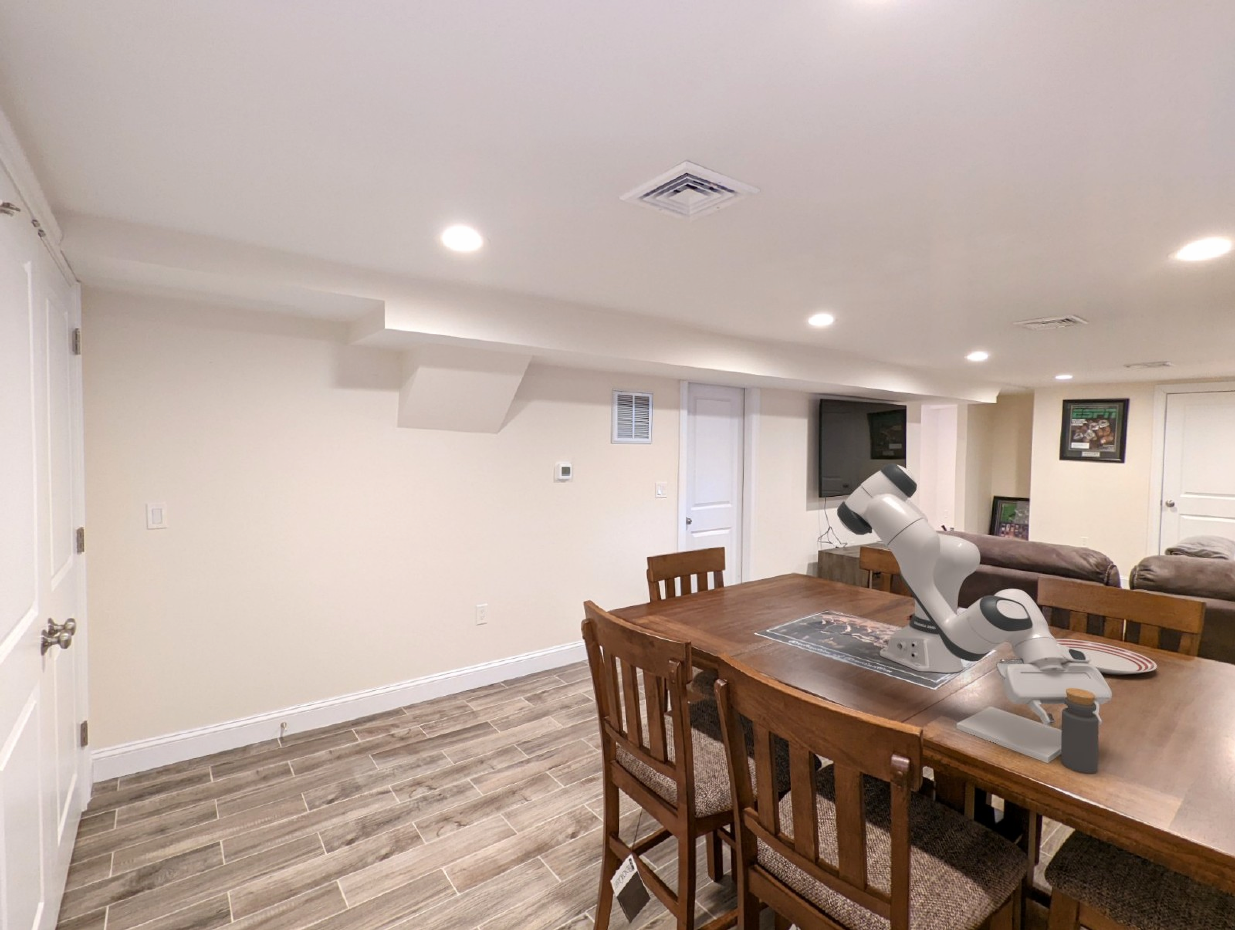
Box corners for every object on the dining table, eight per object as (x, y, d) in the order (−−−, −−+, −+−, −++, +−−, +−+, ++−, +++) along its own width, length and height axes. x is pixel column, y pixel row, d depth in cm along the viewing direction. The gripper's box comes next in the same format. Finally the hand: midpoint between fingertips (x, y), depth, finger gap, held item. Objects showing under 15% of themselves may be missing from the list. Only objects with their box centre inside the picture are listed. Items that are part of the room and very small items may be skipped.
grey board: (956, 728, 136) (956, 723, 136) (990, 711, 144) (990, 706, 144) (1047, 763, 121) (1047, 757, 121) (1078, 741, 130) (1079, 735, 130)
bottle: (1053, 759, 122) (1054, 687, 122) (1080, 757, 123) (1081, 686, 122) (1078, 774, 116) (1079, 699, 116) (1105, 773, 117) (1107, 698, 116)
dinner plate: (1110, 649, 188) (1110, 638, 188) (1183, 683, 161) (1184, 671, 161) (1018, 646, 191) (1019, 636, 191) (1076, 680, 164) (1076, 668, 164)
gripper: (999, 652, 128) (1028, 717, 119) (1095, 653, 127) (1133, 718, 118) (986, 665, 133) (1013, 729, 123) (1079, 666, 132) (1114, 730, 123)
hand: (1073, 724), depth 121 cm, fingers open, 8 cm apart
